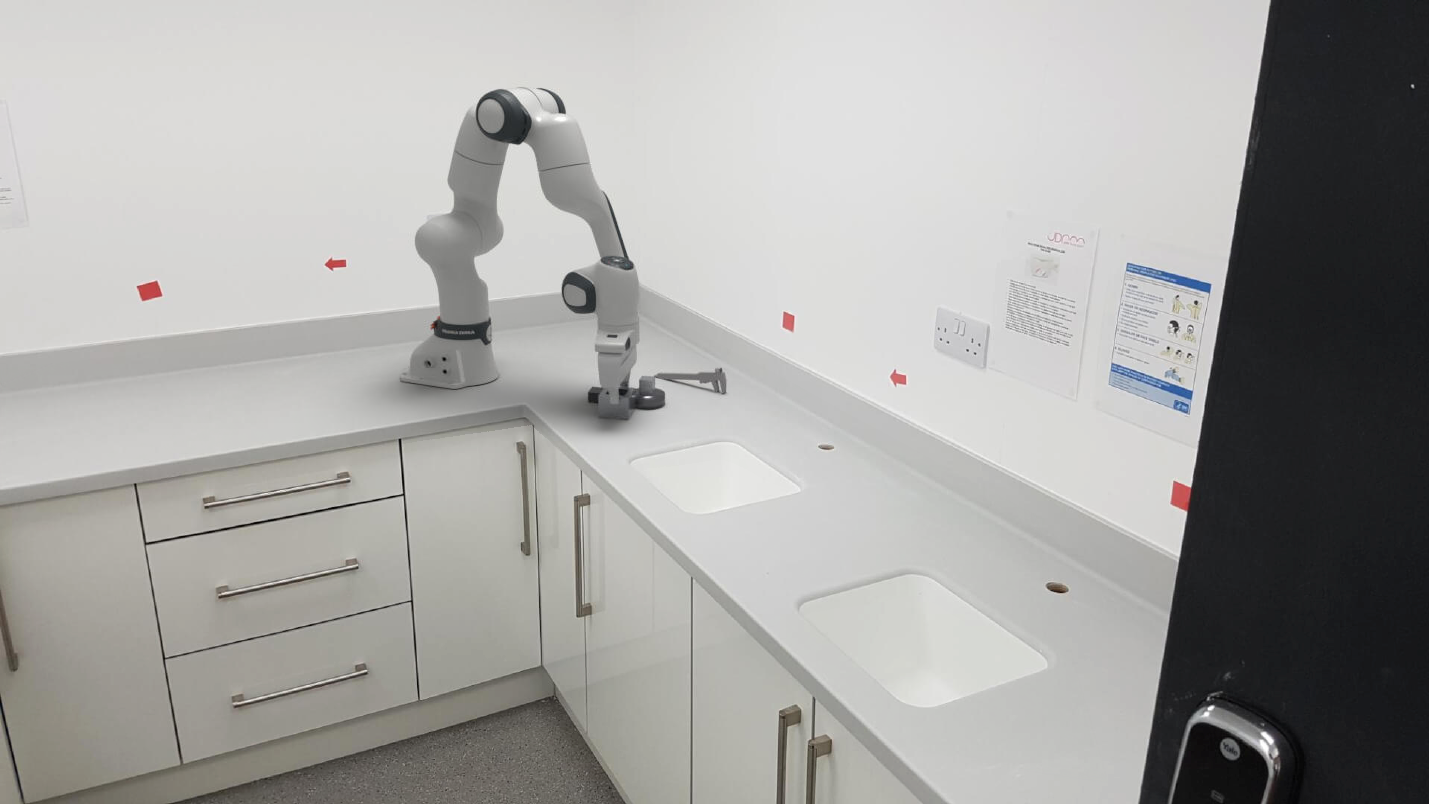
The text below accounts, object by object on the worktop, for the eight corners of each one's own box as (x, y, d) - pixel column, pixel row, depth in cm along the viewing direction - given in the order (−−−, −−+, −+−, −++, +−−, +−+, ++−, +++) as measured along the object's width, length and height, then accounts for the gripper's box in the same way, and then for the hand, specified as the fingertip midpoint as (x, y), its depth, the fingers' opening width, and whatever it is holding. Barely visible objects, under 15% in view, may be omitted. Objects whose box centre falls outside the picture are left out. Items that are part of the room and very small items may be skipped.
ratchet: (668, 399, 247) (668, 374, 245) (661, 411, 240) (661, 385, 238) (594, 393, 249) (594, 368, 247) (585, 405, 242) (585, 379, 240)
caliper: (726, 394, 252) (727, 368, 250) (723, 395, 251) (724, 369, 249) (655, 376, 263) (656, 351, 261) (653, 378, 262) (653, 353, 260)
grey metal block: (598, 417, 235) (598, 395, 233) (606, 407, 241) (605, 385, 239) (628, 419, 234) (628, 397, 232) (635, 409, 240) (635, 388, 238)
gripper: (615, 320, 242) (616, 380, 246) (592, 346, 223) (594, 410, 227) (643, 322, 241) (643, 381, 245) (622, 347, 222) (623, 412, 226)
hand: (619, 395), depth 236 cm, fingers open, 8 cm apart
